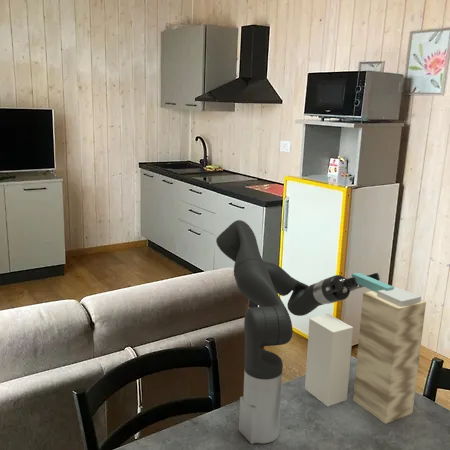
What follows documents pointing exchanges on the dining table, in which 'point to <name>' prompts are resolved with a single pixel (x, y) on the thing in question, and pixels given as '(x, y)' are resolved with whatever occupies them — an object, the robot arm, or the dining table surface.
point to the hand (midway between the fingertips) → (366, 278)
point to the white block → (328, 359)
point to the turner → (387, 291)
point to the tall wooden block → (388, 357)
